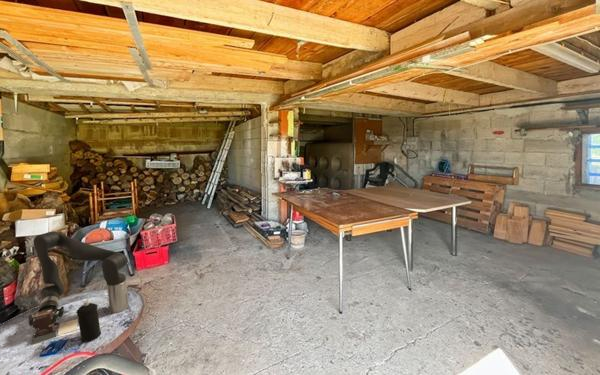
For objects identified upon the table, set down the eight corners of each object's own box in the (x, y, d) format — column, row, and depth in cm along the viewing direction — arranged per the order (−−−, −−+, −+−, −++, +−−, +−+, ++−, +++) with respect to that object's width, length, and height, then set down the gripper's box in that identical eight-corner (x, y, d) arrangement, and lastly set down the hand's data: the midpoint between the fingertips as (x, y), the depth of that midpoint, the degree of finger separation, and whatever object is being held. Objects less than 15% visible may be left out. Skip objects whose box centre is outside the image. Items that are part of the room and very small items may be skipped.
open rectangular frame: (58, 324, 143) (57, 319, 143) (56, 336, 135) (55, 331, 134) (35, 331, 138) (34, 325, 137) (31, 344, 129) (30, 339, 129)
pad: (78, 318, 148) (78, 318, 148) (76, 329, 140) (76, 329, 140) (59, 324, 143) (59, 324, 143) (57, 335, 135) (57, 335, 135)
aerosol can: (105, 332, 138) (100, 298, 134) (88, 344, 131) (82, 308, 127) (93, 328, 141) (89, 294, 137) (76, 339, 133) (70, 304, 129)
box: (38, 338, 133) (33, 317, 131) (40, 332, 137) (36, 312, 134) (54, 333, 136) (50, 313, 134) (56, 328, 140) (52, 308, 138)
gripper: (29, 304, 141) (22, 323, 128) (65, 295, 150) (62, 312, 137) (31, 317, 143) (25, 336, 130) (67, 307, 151) (64, 325, 138)
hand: (44, 324), depth 133 cm, fingers closed on box, 6 cm apart
